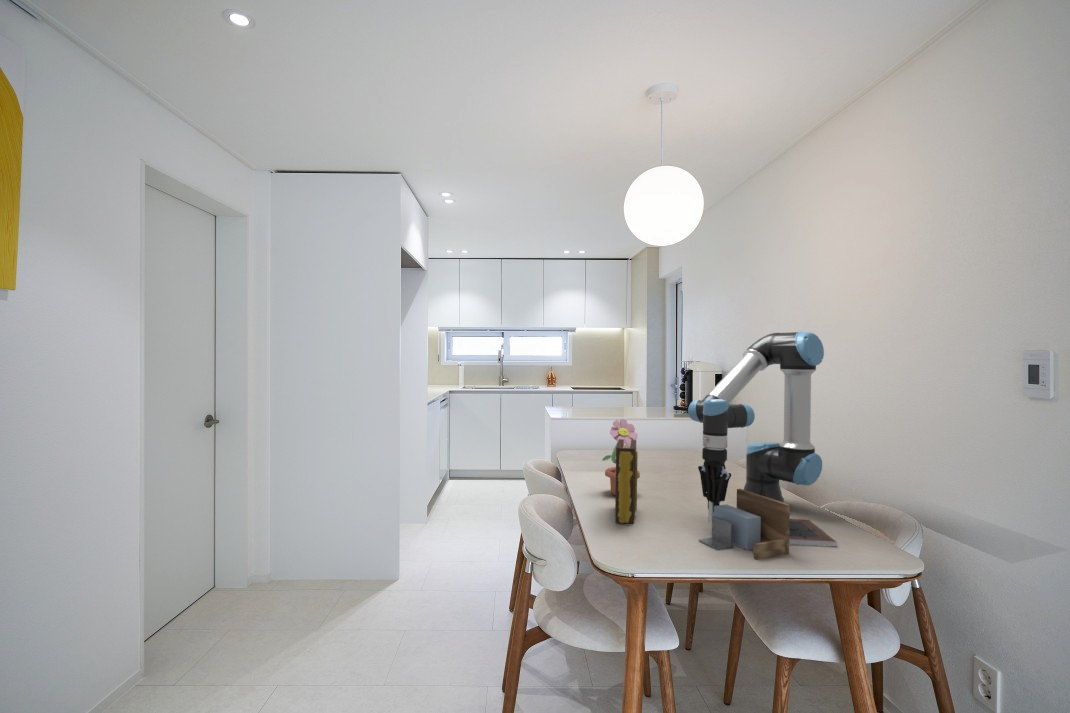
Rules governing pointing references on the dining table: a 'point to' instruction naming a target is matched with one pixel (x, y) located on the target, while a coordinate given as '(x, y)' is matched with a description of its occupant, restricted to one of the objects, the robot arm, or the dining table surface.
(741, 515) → the boxed book
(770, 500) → the shelf
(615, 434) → the decorative flower
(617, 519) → the book
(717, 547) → the bookend
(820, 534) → the picture frame
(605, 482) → the dining table surface
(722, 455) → the robot arm
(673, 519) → the dining table surface
